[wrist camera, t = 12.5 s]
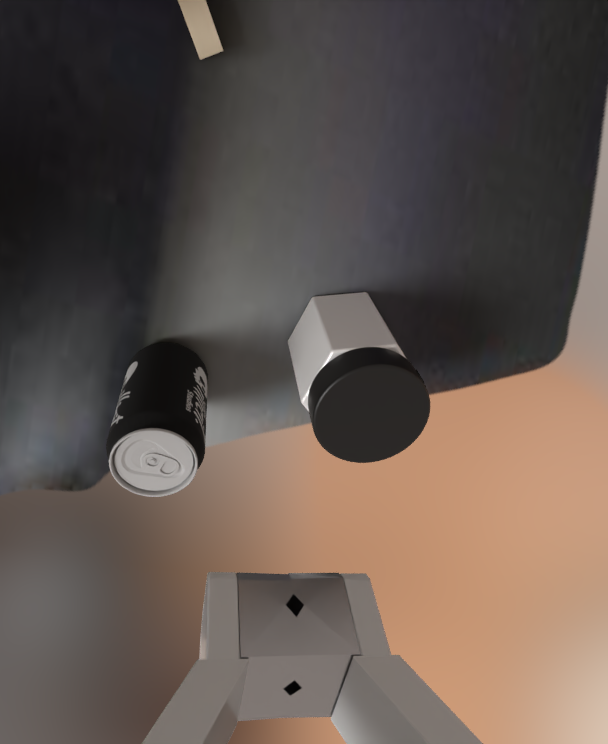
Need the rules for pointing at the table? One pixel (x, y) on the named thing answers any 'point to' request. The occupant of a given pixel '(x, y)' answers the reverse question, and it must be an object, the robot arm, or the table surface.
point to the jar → (356, 379)
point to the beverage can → (159, 421)
